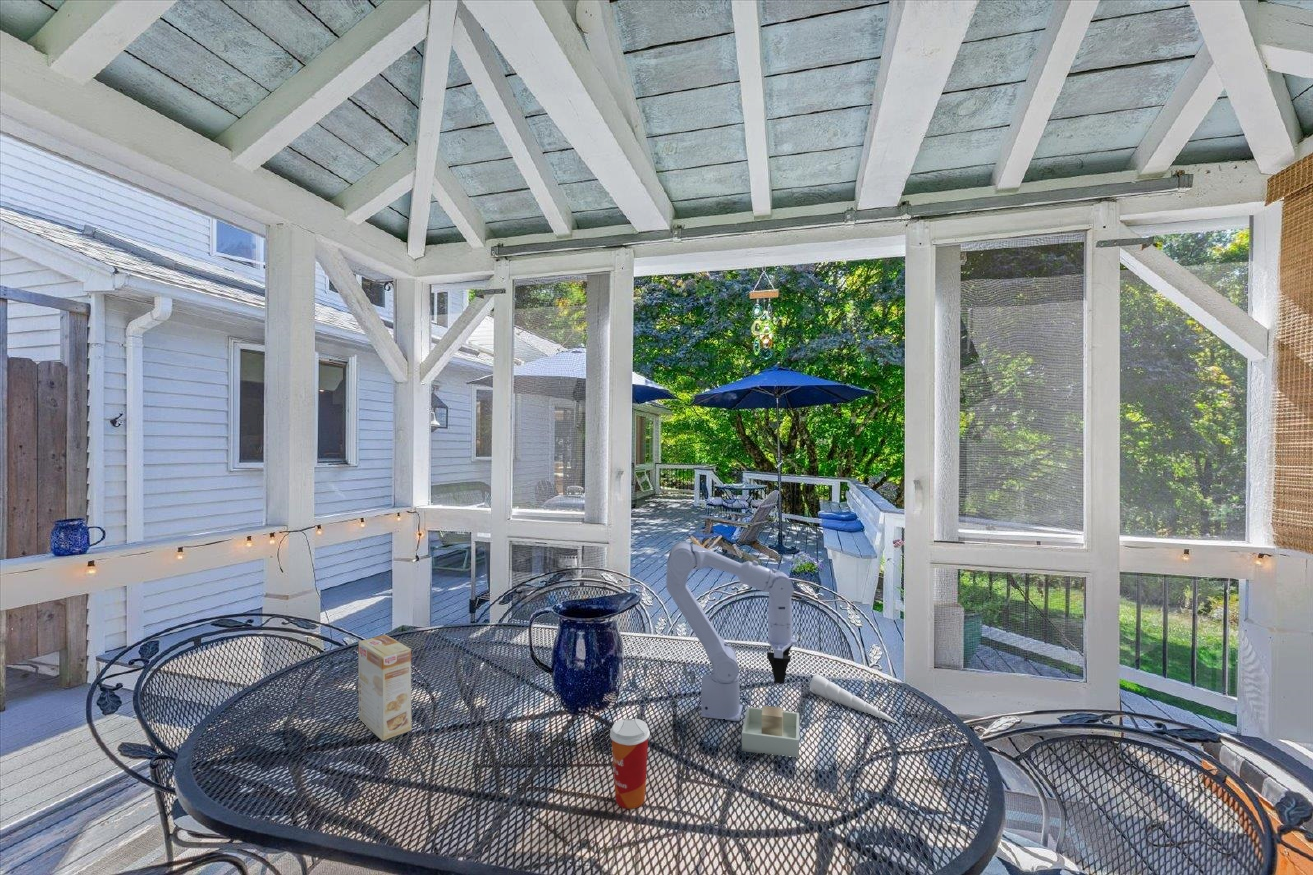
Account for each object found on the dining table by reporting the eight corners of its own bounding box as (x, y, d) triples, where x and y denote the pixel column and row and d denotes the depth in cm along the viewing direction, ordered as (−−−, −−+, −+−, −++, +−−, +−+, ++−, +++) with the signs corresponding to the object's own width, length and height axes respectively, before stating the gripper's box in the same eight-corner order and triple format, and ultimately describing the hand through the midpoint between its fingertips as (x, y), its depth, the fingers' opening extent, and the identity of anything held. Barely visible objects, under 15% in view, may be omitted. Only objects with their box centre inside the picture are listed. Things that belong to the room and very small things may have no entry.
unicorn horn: (890, 731, 133) (890, 711, 133) (808, 694, 152) (808, 676, 152) (901, 724, 135) (901, 705, 135) (819, 689, 155) (819, 671, 154)
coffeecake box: (412, 730, 134) (412, 648, 134) (381, 742, 129) (381, 657, 128) (387, 709, 144) (386, 633, 144) (357, 720, 139) (356, 641, 139)
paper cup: (610, 788, 111) (609, 717, 111) (648, 785, 112) (648, 715, 112) (610, 814, 104) (609, 739, 103) (651, 812, 104) (651, 736, 104)
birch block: (761, 741, 127) (761, 714, 127) (763, 731, 131) (763, 705, 131) (782, 744, 126) (782, 717, 126) (782, 733, 130) (782, 707, 130)
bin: (741, 750, 124) (741, 732, 124) (747, 723, 136) (747, 706, 136) (798, 758, 121) (798, 740, 121) (799, 729, 133) (799, 712, 133)
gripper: (795, 633, 132) (795, 690, 132) (797, 613, 146) (798, 666, 146) (764, 630, 134) (765, 687, 134) (770, 611, 148) (770, 663, 148)
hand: (780, 676), depth 140 cm, fingers open, 7 cm apart
